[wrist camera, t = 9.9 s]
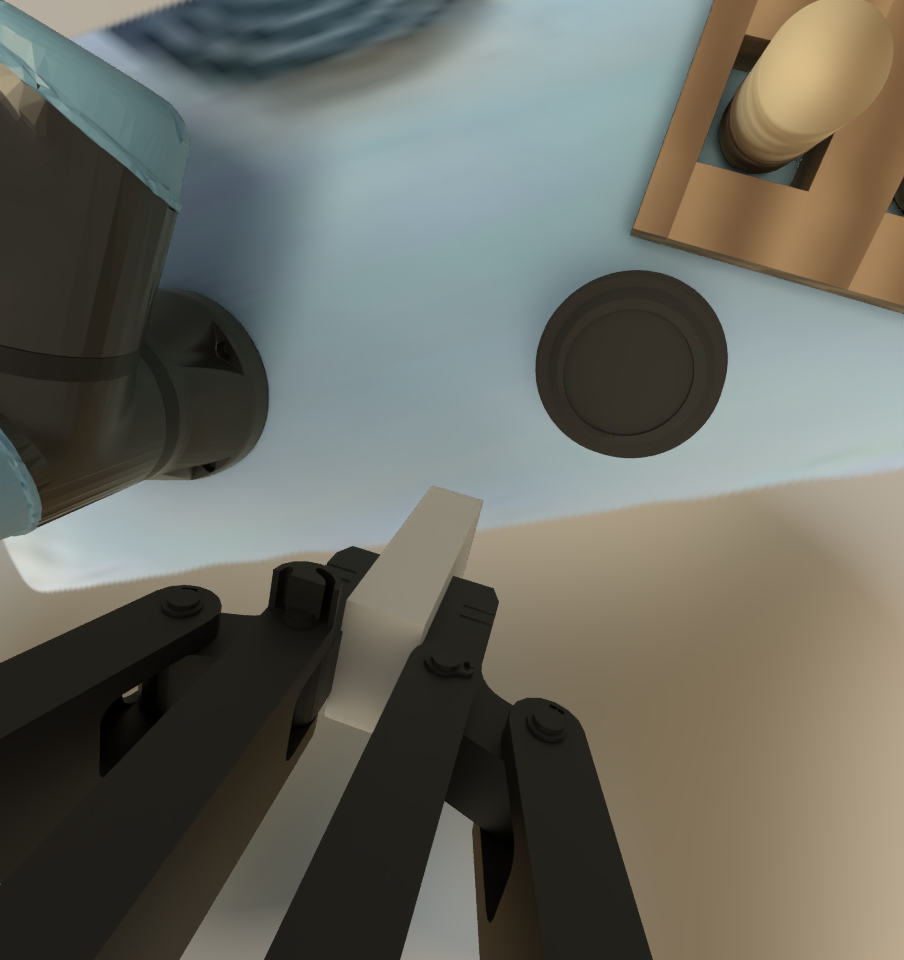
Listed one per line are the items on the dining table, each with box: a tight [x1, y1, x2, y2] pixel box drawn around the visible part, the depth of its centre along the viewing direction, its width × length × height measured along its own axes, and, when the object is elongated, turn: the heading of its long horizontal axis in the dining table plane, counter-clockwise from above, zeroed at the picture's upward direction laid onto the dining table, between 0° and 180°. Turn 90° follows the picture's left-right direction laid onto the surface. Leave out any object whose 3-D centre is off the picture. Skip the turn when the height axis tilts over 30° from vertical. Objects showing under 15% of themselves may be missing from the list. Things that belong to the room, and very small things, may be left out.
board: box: [630, 0, 904, 314], centre depth 33 cm, size 20×14×5 cm
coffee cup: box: [536, 270, 728, 458], centre depth 35 cm, size 9×9×15 cm
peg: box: [719, 0, 893, 174], centre depth 30 cm, size 5×5×12 cm
